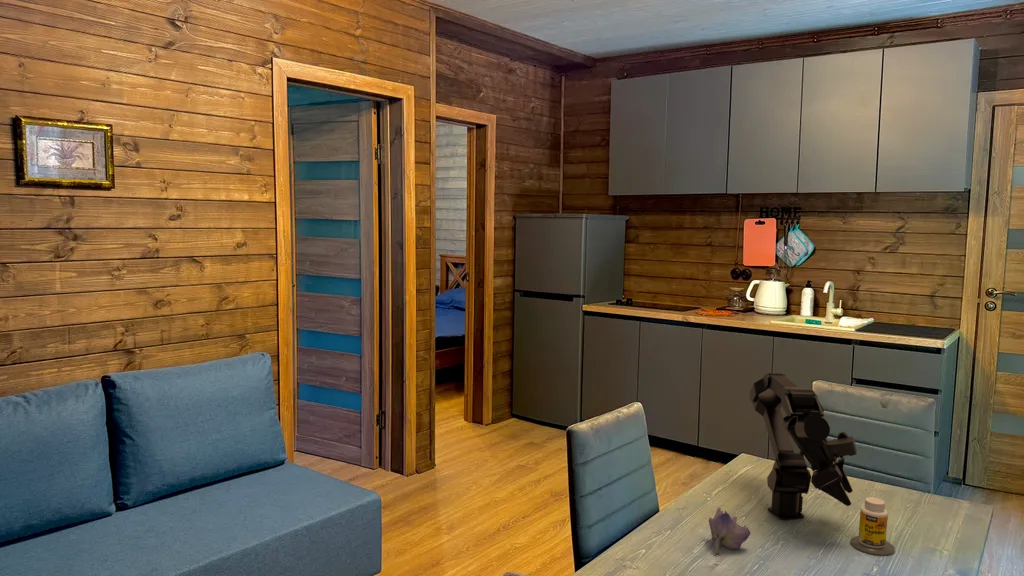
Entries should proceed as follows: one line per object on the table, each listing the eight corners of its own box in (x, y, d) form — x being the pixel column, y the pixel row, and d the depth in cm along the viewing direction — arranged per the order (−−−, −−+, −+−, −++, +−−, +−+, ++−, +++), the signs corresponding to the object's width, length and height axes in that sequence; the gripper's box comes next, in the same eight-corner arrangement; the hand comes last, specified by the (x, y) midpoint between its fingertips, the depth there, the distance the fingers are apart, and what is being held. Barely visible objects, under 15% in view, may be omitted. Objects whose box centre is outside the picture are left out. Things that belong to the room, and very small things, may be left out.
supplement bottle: (860, 547, 164) (863, 503, 162) (856, 537, 169) (859, 494, 168) (887, 551, 162) (891, 506, 161) (882, 540, 167) (886, 497, 166)
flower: (736, 535, 154) (737, 500, 162) (698, 542, 159) (701, 507, 167) (754, 564, 157) (755, 528, 165) (717, 570, 162) (719, 535, 170)
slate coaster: (869, 557, 160) (869, 555, 160) (841, 539, 168) (841, 537, 168) (904, 553, 162) (904, 551, 162) (874, 536, 171) (874, 534, 171)
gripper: (837, 433, 161) (882, 495, 158) (841, 414, 178) (882, 470, 175) (793, 457, 166) (836, 518, 163) (800, 436, 182) (840, 491, 179)
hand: (850, 498), depth 170 cm, fingers open, 9 cm apart
